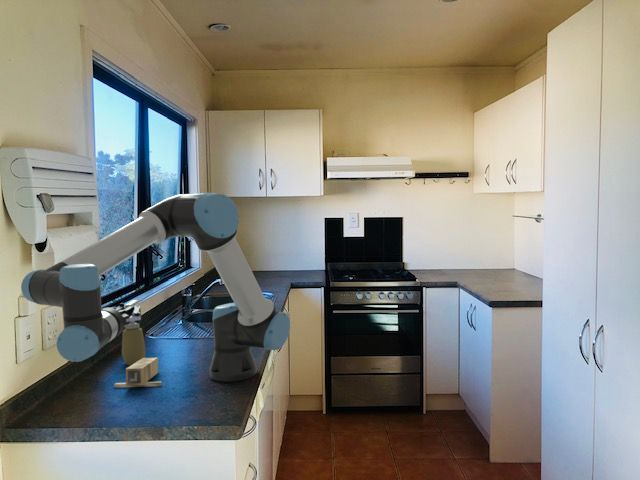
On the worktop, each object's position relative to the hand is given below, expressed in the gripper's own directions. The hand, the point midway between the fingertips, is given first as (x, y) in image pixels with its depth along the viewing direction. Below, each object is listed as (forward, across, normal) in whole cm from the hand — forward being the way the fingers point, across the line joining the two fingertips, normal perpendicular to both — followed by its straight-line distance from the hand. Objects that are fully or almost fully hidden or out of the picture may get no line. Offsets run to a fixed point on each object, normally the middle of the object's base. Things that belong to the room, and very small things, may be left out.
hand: (136, 304), depth 143 cm
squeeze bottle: (+38, -15, -29) cm, 50 cm away
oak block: (+11, -6, -24) cm, 27 cm away
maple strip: (+14, -6, -28) cm, 32 cm away
